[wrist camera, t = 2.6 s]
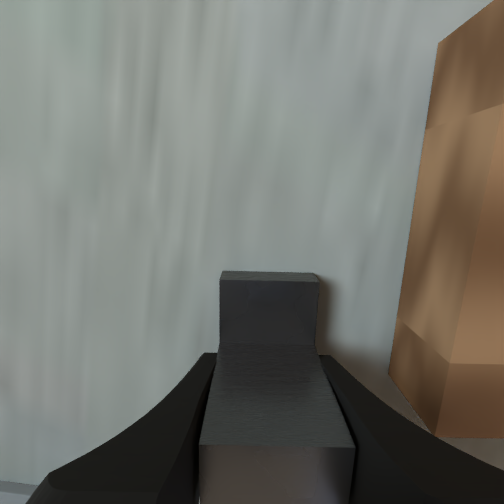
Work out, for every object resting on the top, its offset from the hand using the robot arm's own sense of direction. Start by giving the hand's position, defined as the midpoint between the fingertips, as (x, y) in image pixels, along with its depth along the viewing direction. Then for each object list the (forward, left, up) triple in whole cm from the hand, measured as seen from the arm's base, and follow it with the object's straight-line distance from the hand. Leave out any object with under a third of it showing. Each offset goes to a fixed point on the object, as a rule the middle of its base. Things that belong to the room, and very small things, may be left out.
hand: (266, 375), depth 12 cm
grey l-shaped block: (+1, 0, -2) cm, 2 cm away
